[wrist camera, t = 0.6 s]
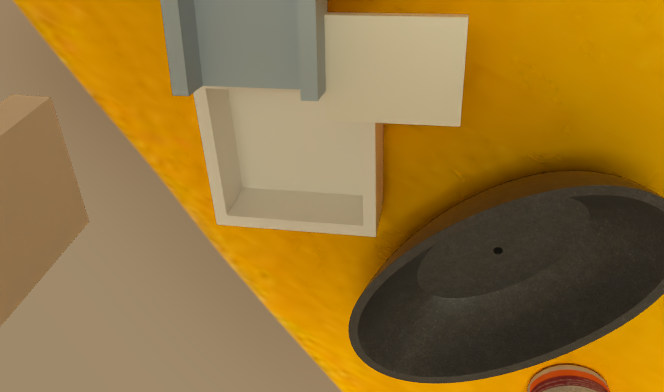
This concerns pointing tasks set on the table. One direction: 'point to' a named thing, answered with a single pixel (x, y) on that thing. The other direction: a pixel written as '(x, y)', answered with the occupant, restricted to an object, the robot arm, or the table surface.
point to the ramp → (323, 56)
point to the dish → (289, 162)
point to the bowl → (513, 278)
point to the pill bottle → (567, 380)
